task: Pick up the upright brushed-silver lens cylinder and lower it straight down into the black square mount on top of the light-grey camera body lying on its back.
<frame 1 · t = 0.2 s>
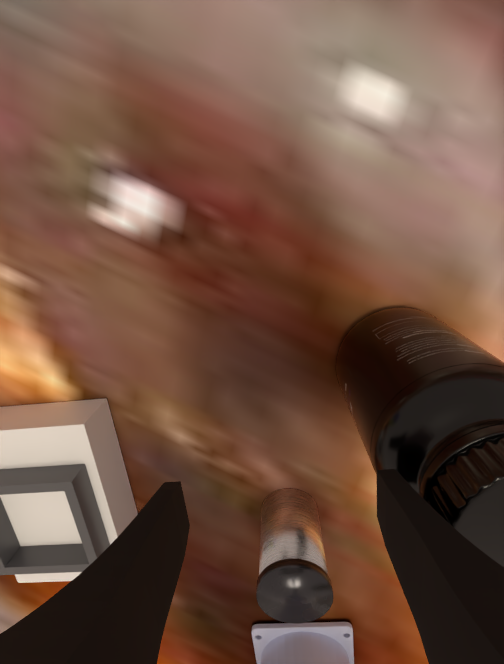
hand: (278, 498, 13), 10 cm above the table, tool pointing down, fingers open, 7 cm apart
supplement bottle: (390, 359, 22), on the table, touching gripper
camera body: (72, 477, 25), on the table
lens: (289, 511, 25), on the table
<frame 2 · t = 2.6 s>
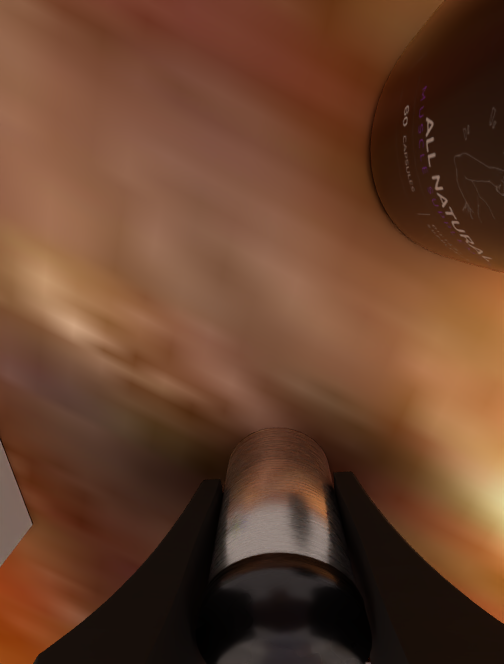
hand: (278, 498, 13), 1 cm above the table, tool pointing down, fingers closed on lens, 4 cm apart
supplement bottle: (481, 142, 11), on the table
lens: (278, 471, 14), on the table, touching gripper
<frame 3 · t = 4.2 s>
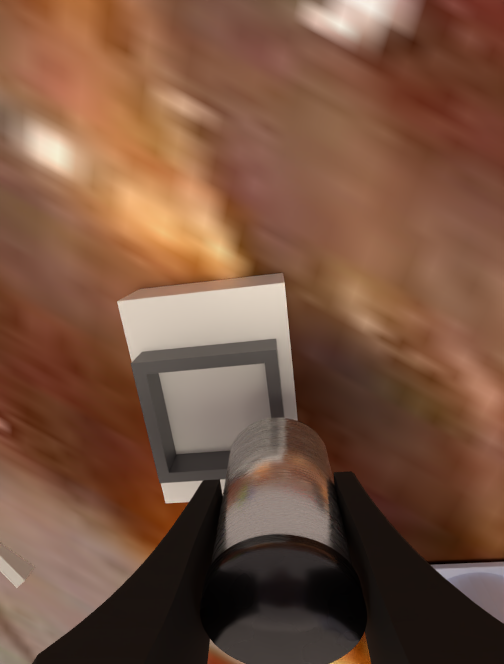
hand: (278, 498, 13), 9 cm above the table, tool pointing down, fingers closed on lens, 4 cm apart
camera body: (225, 380, 21), on the table
lens: (278, 459, 15), point 7 cm above the table, touching gripper
when the fingers open (5 cm above the table, at t = 6.1 s): lens stays where it is, resting on camera body.
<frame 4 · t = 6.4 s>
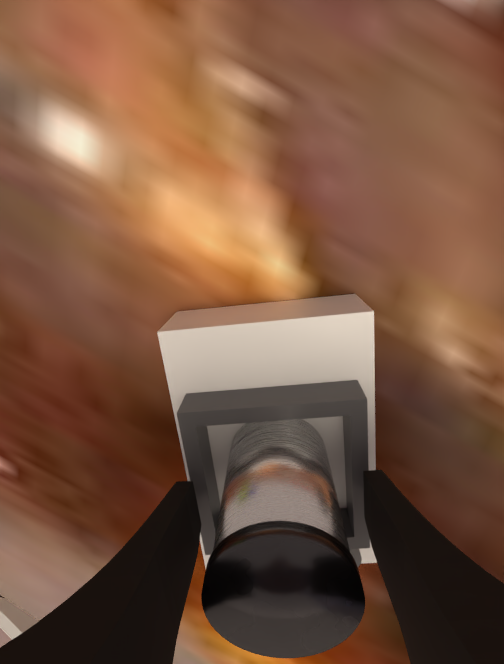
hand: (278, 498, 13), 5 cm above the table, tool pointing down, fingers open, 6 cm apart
camera body: (276, 419, 18), on the table
lens: (277, 455, 15), point 3 cm above the table, touching camera body
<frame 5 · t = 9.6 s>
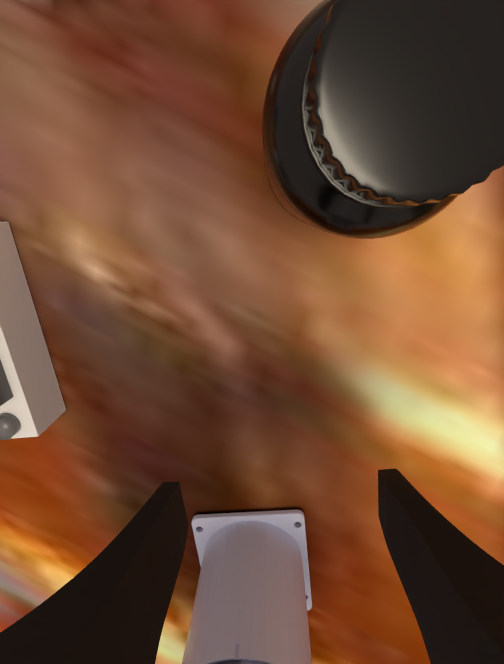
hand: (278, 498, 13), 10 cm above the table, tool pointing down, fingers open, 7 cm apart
supplement bottle: (331, 160, 19), on the table
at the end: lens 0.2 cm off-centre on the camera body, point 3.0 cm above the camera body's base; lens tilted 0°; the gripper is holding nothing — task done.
